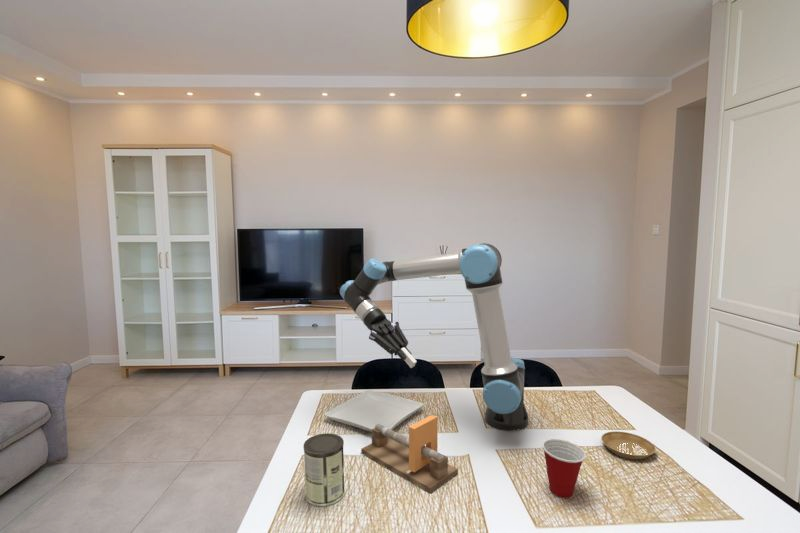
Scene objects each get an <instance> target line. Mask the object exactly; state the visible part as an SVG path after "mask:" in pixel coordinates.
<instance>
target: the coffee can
mask: <svg viewBox="0 0 800 533" xmlns="http://www.w3.org/2000/svg"><path fill="white" fill-rule="evenodd" d="M344 444H345V443H344V439H343V438H342V436H340V435H338V434H335V433H327V432H326V433H320V434H315V435H312V436H310V437H309V438H307V439H306V440H305V441H304V443H303V453H304V454H303V455H304V458H303V459H304V479H305V480H304V481H305V482H304V483H305V484H304V485H305V500H306V501H307V503H309V504H310V505H312V506H315V507H328V506H331V505H334V504H336V503H338V502H339V501H341V500H342V499H343V497H344V495H345V492H346V491H345V466H344V465H345V463H344V462H345V461H344Z"/></svg>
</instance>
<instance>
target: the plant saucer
mask: <svg viewBox="0 0 800 533" xmlns="http://www.w3.org/2000/svg"><path fill="white" fill-rule="evenodd" d="M601 441H602V443H603V444H604V446H605V447H606V448H607V449H608V450H609V451H610V452H611V453H613V454H614V453H615V455H616V456H618V455H619V457H620V458H621V457H622V458H624V459H627V458H628V460H634V459H637V460H638V459H640V460H643V459H644V460H645V459H646V458H647V459H648V457H649V458H650V457H651V456H652V455H653V454H654V453H655V451H656V447H655V445H654V444H653V443H652V442H651V441H649V440H648V439H646V438H644V437H642V436H640V435H637V434H635V433H630V432H625V431H616V430H615V431H608V432H605V433H603V434H602V435H601ZM623 443H626V449H627V447H628V448H629V454H626V453H627V450H626V453H625V451H624V453H622V449H621V452H619V445H620V444H621V448H622V444H623ZM627 443H628V444H627ZM633 443H634V444H635V446H636V444H637V445H639V446H640V447H643V448H644V449H646V450H647V452H648V455H643V454H644V453H642V455H633V454H634V452H633V448H632V445H633V447H634V448H635V446H634V444H633ZM617 447H618V451H617ZM624 447H625V444H624ZM631 452H632V455H630V453H631ZM637 460H636V461H637Z"/></svg>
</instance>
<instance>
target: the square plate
mask: <svg viewBox="0 0 800 533" xmlns="http://www.w3.org/2000/svg"><path fill="white" fill-rule="evenodd" d="M424 405H425V403H424V402H421V401H416V400H413V399H410V398H406V397H402V396H398V395H395V394H394V395H393V394H390V393H385V392H381V391H376V390H372V389H367V390H365V391H363V392H361V393H358V394H357V395H355V396H353V397H351V398H349V399H348V400H346V401H344V402H342V403H340V404H339V405H337V406H335V407H333V408H331V409H329V410H328V411H326V412H325V413H324V416H325V417H327V418H328V419H330V420H332V421H335V422H337V423H341V424H344V425H349V426H352V427H354V428H358V429H361V430H363V431H367V432H370V433H372V429H373V428H375V426H376V425H377V424H380V425H383V426H385V427H387V428H389V429H391V430H394V429H395V428H396V427H397V426H399V425H400V424H401V423H403V422H404V421H406V420H407V419H408V418H409V417H411V416H412V415H414V414H416V413H417V412H419V411H420V410H421V409H422V408H423V406H424Z"/></svg>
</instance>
